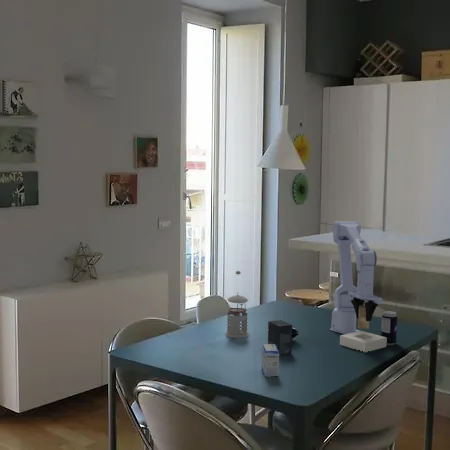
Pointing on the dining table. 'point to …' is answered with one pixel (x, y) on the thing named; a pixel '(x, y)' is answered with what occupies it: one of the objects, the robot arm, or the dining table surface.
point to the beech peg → (362, 318)
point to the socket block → (363, 341)
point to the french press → (237, 317)
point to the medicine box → (270, 360)
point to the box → (280, 336)
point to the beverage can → (389, 326)
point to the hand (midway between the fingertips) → (363, 319)
